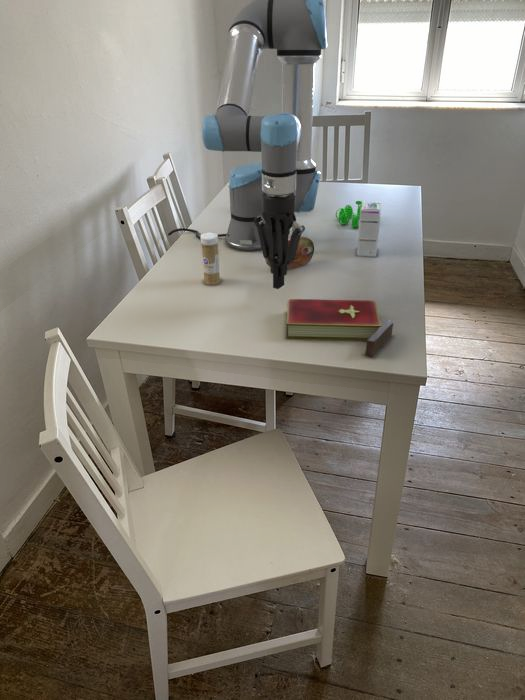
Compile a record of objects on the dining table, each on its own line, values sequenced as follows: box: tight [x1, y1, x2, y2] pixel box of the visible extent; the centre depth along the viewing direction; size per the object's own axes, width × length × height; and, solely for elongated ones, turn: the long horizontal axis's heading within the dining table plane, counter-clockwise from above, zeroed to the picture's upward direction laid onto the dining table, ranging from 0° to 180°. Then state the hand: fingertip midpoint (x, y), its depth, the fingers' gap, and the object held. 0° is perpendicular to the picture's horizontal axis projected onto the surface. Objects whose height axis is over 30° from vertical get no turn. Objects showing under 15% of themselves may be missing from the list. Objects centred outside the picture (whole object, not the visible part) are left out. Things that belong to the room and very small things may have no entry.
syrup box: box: [356, 201, 382, 258], centre depth 155 cm, size 6×6×14 cm
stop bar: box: [364, 319, 394, 358], centre depth 117 cm, size 2×10×4 cm, turn 144°
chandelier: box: [335, 200, 363, 229], centre depth 178 cm, size 15×15×7 cm
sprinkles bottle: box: [200, 232, 221, 286], centre depth 141 cm, size 5×5×14 cm
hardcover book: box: [285, 298, 382, 342], centre depth 124 cm, size 12×21×4 cm, turn 86°
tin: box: [264, 235, 315, 270], centre depth 150 cm, size 15×3×8 cm, turn 117°
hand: (278, 286), depth 130 cm, fingers closed
